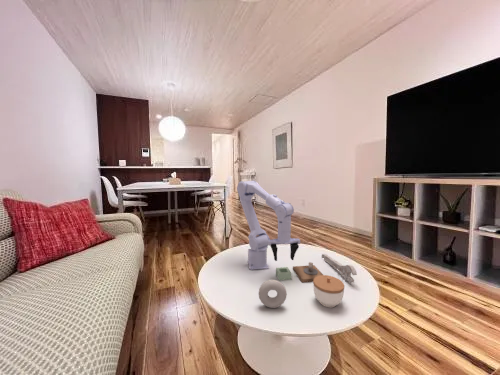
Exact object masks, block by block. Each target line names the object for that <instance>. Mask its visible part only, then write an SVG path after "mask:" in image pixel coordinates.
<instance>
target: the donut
mask: <svg viewBox="0 0 500 375" xmlns="http://www.w3.org/2000/svg"><path fill="white" fill-rule="evenodd" d="M270 291H275V292H276V293H277V294H276V295H275V296H270V295H269V292H270ZM287 295H288V294H287V289H286V287H285V285H284V284H283V283H282V282H280V280H276V279H269V280H266V281H264V282H263V283H261V285H260V287H259V288H258V299H259V300H260V303H262V305H264V306H265V307H267V308H270V309H275V308H278V307H280V306H282V305H284V303H285V302H286V300H287Z"/></svg>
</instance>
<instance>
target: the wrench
mask: <svg viewBox="0 0 500 375" xmlns="http://www.w3.org/2000/svg"><path fill="white" fill-rule="evenodd" d="M322 258H324V260H325V262H326V263H328V265H330V266H332V267H334V268H335V269H336V270H337V271H339V272H340V273H341V276H342V277H343V279H344V281H345V282H348V283H355V279H354V278H353V277H352V276H357V270H356V268H355V266H353V264H346V265H344V264H342V263H340V262H339V261H337V260H336V259H334V258H332V257H331V256H329V255H328V254H326V253H322V254H321V259H322Z"/></svg>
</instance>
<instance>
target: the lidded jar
mask: <svg viewBox="0 0 500 375" xmlns="http://www.w3.org/2000/svg"><path fill="white" fill-rule="evenodd" d="M312 283H313V286H312V287H313V294H314V296H315V298H316V300H317V301H318V302H319V303H320V304H321V305H322V306H323V307H326V308H335V307H337V306H339V304H340V303H341V302H342V300H343V299H344V292H345V284H344V282H343V281H342V280H341V279H339V278H337V277H335V276H331V275H327V274H326V275H325V274H323V275H320V276H316V277H315V278H314V279H313V282H312Z"/></svg>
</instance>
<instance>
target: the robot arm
mask: <svg viewBox="0 0 500 375" xmlns="http://www.w3.org/2000/svg"><path fill="white" fill-rule="evenodd" d="M236 191H237V194H238V196H239V201H240V204H241V207H242V209H243V212H244V216H245V219H246V222H247V224H248V228H249V230H250V233H249V234H248V236H247V237H248V243H249V244H248V245H249V247H250V248H248V251H247V265H248V268H249V270H252V271H253V270H265V269H267V270H268V269H270V267H269V265H268V263H267V261H268V260H267V258H268V257H267V255H268V254H267V253H268V246H270V248H271V251H272V253H273V258H274V261H275V262H277V261H278V247H277V245H290V255H289V256H290V259H291V260H292V261H294V258H295V255H296V253H297V251H298V249H299V248H300V245H301V239H300V238H295V237H293V238H292V237H291V235H292V234H291V232H292V215H293V214H294V210H295V209H294V206H293V205H292V204H291V203H290V202H285V201H284V200H282V199H281V198H280V197H278V195H277V194H273V193H272V194H270V193H269V192H268V191H266V190H265V189H264V188H263V187H262V186H261V185H260V184H259V182H257V181H256V180H244V181H243V180H241V181H239V182H238V183H237V187H236ZM255 194H256V195H257V196H259V197H260V198H262V200H265V204H266V205H267V206H268V207H269V208H271V209H272V210H273V211H274V212H275V215H276V217H277V218H276V220H277V238H273V239H270V236H269V235H268V233H267V231H266V230H264V228H262V227H261V225H260V222H259V221H260V220H258V219H259V218H258V217H257V214H256V210H255V208H254V206H253V203H252V199H253V197H254V195H255Z"/></svg>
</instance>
